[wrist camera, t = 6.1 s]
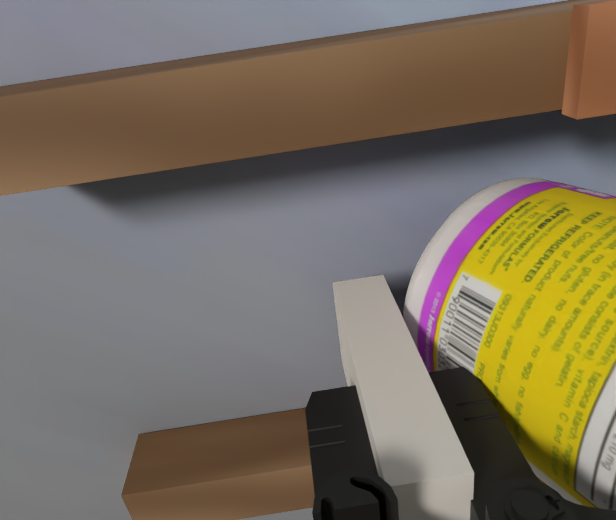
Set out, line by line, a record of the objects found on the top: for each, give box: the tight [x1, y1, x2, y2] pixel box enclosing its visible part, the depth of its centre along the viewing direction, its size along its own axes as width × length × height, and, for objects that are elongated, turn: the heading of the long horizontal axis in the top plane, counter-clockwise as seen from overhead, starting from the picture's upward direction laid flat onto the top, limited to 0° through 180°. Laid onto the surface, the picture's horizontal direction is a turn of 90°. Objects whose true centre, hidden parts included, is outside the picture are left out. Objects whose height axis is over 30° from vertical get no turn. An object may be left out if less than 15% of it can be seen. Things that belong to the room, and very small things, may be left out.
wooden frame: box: [0, 0, 616, 520], centre depth 14 cm, size 14×22×4 cm, turn 98°
